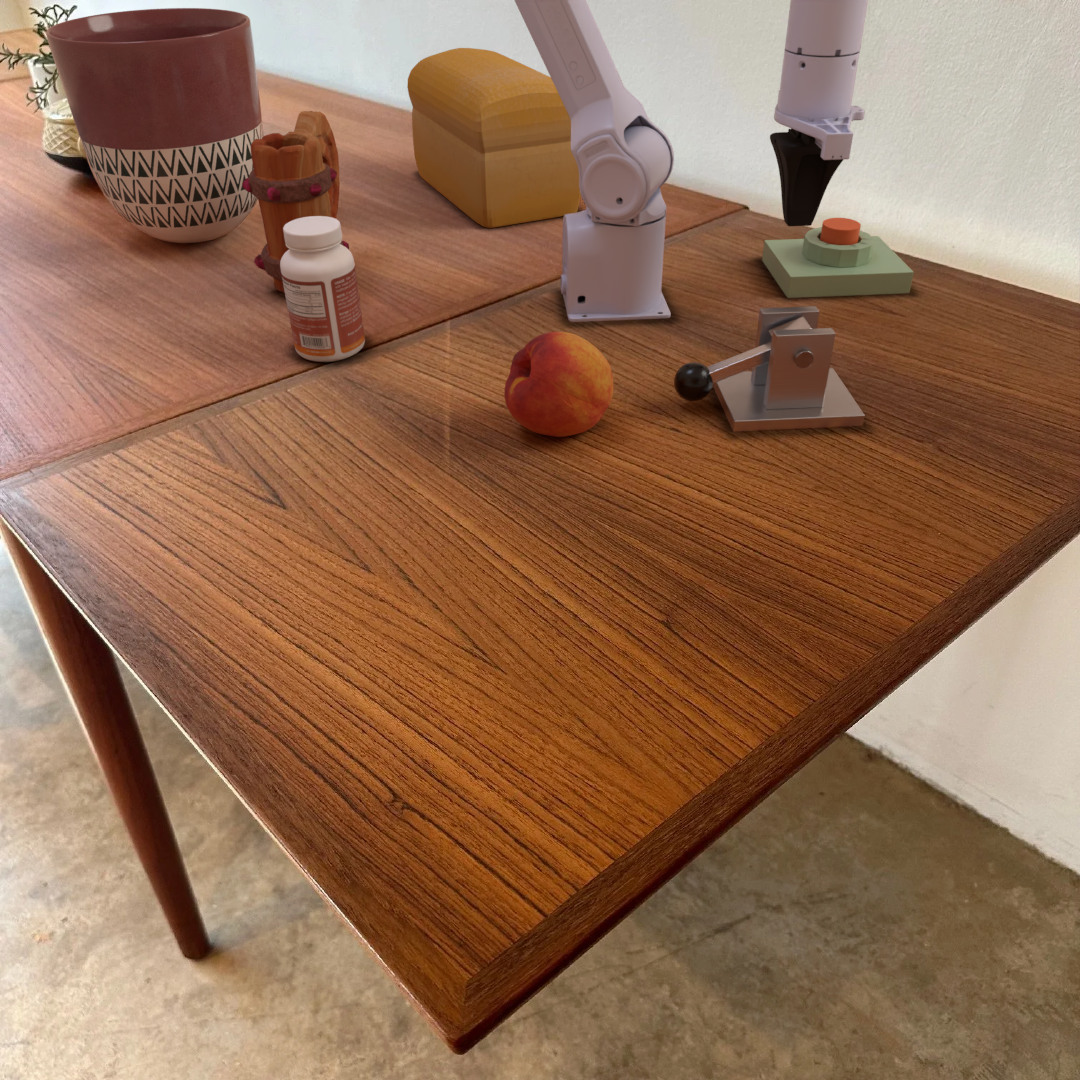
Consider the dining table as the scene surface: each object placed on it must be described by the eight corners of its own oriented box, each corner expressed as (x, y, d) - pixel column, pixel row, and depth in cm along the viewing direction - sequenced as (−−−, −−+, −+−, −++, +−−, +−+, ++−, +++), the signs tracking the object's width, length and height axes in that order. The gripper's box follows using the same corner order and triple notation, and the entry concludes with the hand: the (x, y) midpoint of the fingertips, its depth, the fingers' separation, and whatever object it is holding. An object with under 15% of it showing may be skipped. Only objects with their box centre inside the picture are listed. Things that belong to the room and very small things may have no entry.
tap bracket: (732, 435, 76) (743, 346, 72) (711, 385, 82) (719, 301, 78) (862, 429, 76) (880, 340, 72) (830, 380, 83) (845, 296, 79)
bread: (584, 213, 117) (586, 74, 108) (482, 230, 113) (475, 87, 104) (503, 160, 135) (499, 37, 126) (413, 173, 131) (402, 47, 122)
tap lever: (684, 414, 77) (672, 382, 76) (677, 395, 80) (665, 364, 78) (821, 360, 76) (812, 326, 74) (810, 343, 78) (801, 310, 76)
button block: (787, 298, 97) (793, 258, 94) (761, 260, 105) (766, 222, 102) (909, 293, 97) (918, 253, 95) (874, 256, 105) (881, 218, 103)
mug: (328, 308, 96) (304, 145, 87) (249, 302, 97) (218, 141, 88) (378, 254, 108) (362, 105, 99) (307, 249, 109) (284, 102, 100)
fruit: (509, 404, 80) (506, 310, 76) (610, 405, 80) (614, 310, 75) (503, 456, 74) (500, 357, 69) (613, 456, 74) (617, 357, 69)
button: (826, 248, 97) (829, 230, 96) (815, 235, 100) (818, 218, 99) (862, 247, 97) (865, 229, 96) (850, 234, 100) (853, 216, 99)
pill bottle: (353, 328, 92) (337, 207, 86) (375, 355, 88) (359, 229, 81) (287, 342, 90) (265, 219, 84) (305, 370, 86) (284, 242, 79)
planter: (65, 254, 109) (0, 35, 96) (181, 200, 123) (137, 4, 111) (214, 277, 103) (165, 48, 90) (317, 217, 117) (287, 12, 104)
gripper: (905, 68, 72) (871, 251, 80) (844, 31, 84) (819, 195, 92) (808, 70, 72) (784, 254, 80) (761, 33, 84) (743, 197, 92)
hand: (797, 223), depth 86 cm, fingers closed
